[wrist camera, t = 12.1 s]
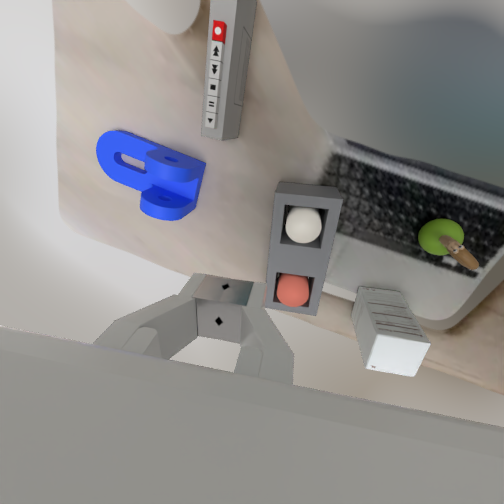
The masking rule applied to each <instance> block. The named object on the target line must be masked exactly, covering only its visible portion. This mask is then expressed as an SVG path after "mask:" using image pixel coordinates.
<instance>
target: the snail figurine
mask: <svg viewBox="0 0 504 504" xmlns="http://www.w3.org/2000/svg"><path fill="white" fill-rule="evenodd" d="M463 239H464V233H463V230H462V228H461V227H460V226H459V225H458V224H457V223H456V222H454V221H452V220H449V219H435V220H432V221H430V222H428V223H426V224H425V225H424V226H423V227H422V228H421V230H420V231H419V235H418V241H419V244H420V245H421V247H422V248H423V249H424V250H425V251H427V252H429V253H431V254H435V255H446V254H450V255H451V256H452V257H453V258H454V259H456V260H457V261H458V262H459V263H460V264H461V265H463V266H464V267H467V268H468V269H471V270H474V269H477V268H478V267H479V263H478V261H477V260H476V259H475V258H474V257H473V256H472V255H471V254H470V253H469V252H468V251H467V250H466V249H465V248H464V246H463V245H461V244H462V242H463Z"/></svg>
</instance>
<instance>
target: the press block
mask: <svg viewBox="0 0 504 504" xmlns="http://www.w3.org/2000/svg"><path fill="white" fill-rule="evenodd" d="M342 202H343V198H342V197H341V195H340V193H339V191H338V189H337V188H336V187H330V186H319V185H309V184H298V183H288V182H279V184H278V186H277V189H276V191H275V197H274V207H273V217H272V227H271V237H270V247H269V257H268V267H267V277H266V283H267V291H266V300H265V308H271V309H277V310H283V311H289V312H295V313H301V314H307V315H313V316H316V314H317V310H318V306H319V301H320V297H321V293H322V288H323V284H324V280H325V276H326V271H327V267H328V263H329V258H330V254H331V250H332V245H333V241H334V237H335V232H336V228H337V224H338V220H339V215H340V211H341V207H342ZM286 205H294V206H303V207H313V208H322V212H321V217H320V220H321V232H320V234H319V236H318V237H317V238H316V239H315V240H313V241H311V242H308V243H298V242H295V241H293V240H292V239H291V238H290V237H289V236H288V234H287V232H286V226H283V224H284V216H285V208H286ZM277 272H280V273H287V274H294V275H301V276H308V277H309V279H308V287H309V297H308V300H307V301H306V302H305V303H304V304H303V305H301V306H298V307H290V306H286V305H284V304H283V303H281V302H280V300H279V299H278V297H277V289H278V282H279V278H277Z"/></svg>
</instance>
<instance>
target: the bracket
mask: <svg viewBox="0 0 504 504" xmlns="http://www.w3.org/2000/svg"><path fill="white" fill-rule="evenodd" d="M96 153H97V158H98V161H99V164H100V166H101V167H102V169H103V170H104V172H105V173H106V174H107V175H108V176H109V177H110V178H111V179H113V180H115V181H117V182H119V183H121V184H124V185H126V186H129V187H131V188H134V189H136V190H139V191H141V192H142V193H141V201H140V209H141V210H142V211H143V212H144V213H145V214H147V215H149V216H151V217H154V218H157V219H161V220H169V221H173V220H179V219H182V218H183V217H184V216H186V215H187V214H188V213H190V212H191V211H192V210H194V209H195V207H196V203H197V199H198V195H199V191H200V186H201V182H202V178H203V174H204V170H205V165H206V163H204V162H202V161H199V160H197V159H194V158H192V157H189V156H187V155H184V154H182V153H179V152H177V151H174V150H172V149H169V148H167V147H164V146H162V145H159V144H157V143H154V142H152V141H149V140H147V139H144V138H142V137H139V136H137V135H134V134H132V133H129V132H126V131H108V132H106V133H104V134H103V135H102V136H101V137H100V138H99V140H98V142H97V147H96ZM121 153H123V154H125V155H128V156H130V157H133V158H135V159H138V160H140V161H143V162H145V167H144V168H145V170H146V171H145V170H142V169H140V168H137V167H135V166H132V165H130V164H127V163H125V162H124V161H123V160H122V158H121Z"/></svg>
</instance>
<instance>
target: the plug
mask: <svg viewBox="0 0 504 504" xmlns="http://www.w3.org/2000/svg"><path fill="white" fill-rule="evenodd" d="M286 232H287V234H288V236H289V237H290V238H291V239H292V240H293V241H295V242H298V243H308V242H311V241H313V240H315V239H316V238H317V237H318V236H319V234H320V232H321V220H320V215H319V209H318V208H313V207H303V206H294V205H290V207H289V209H288V214H287V220H286Z"/></svg>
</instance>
